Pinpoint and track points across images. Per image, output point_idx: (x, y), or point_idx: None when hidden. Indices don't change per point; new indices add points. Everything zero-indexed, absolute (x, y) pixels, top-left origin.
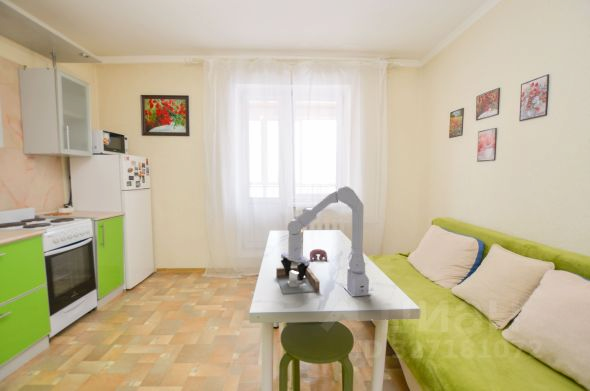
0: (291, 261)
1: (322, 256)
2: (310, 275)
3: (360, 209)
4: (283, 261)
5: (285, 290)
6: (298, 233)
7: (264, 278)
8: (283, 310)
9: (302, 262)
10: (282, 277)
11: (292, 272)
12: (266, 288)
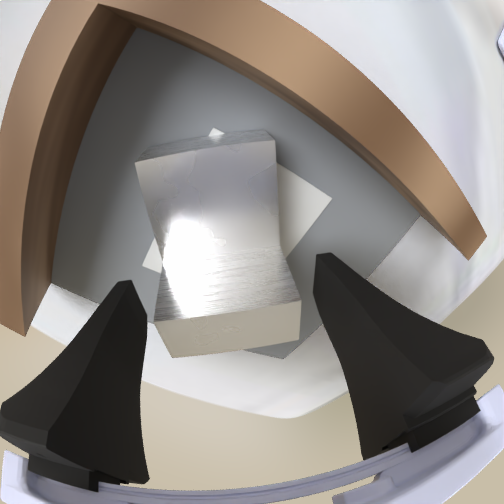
0: (74, 408)
1: None
2: (381, 163)
3: None
4: (137, 483)
5: None
6: None
7: (36, 323)
8: None
9: (424, 455)
10: (58, 250)
11: (220, 352)
12: (165, 373)
